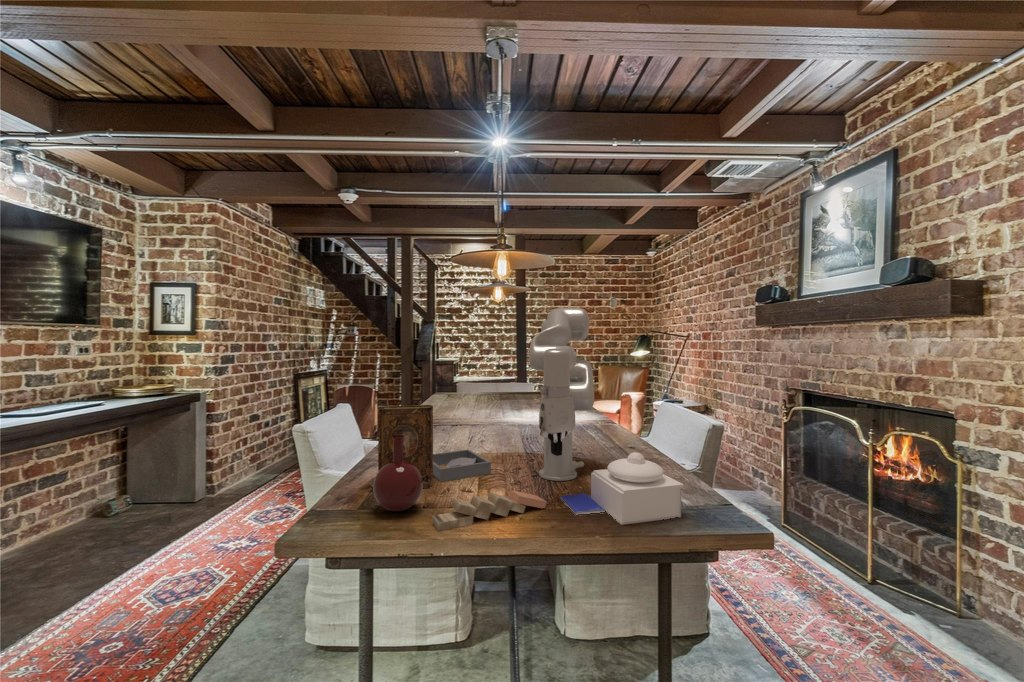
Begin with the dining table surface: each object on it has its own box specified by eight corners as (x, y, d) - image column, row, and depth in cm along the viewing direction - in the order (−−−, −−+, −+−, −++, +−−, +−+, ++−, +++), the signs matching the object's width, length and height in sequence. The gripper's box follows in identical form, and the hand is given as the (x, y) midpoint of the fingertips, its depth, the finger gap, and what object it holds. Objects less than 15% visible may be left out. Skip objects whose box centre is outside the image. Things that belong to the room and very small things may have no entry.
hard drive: (604, 509, 124) (587, 493, 136) (575, 511, 122) (560, 495, 134) (604, 515, 124) (587, 498, 136) (575, 517, 122) (560, 500, 134)
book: (432, 482, 148) (432, 404, 148) (433, 488, 143) (433, 407, 142) (379, 485, 145) (379, 406, 144) (378, 491, 140) (377, 409, 139)
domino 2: (483, 505, 124) (453, 497, 120) (490, 512, 119) (459, 504, 116) (481, 513, 123) (450, 505, 120) (488, 519, 119) (457, 512, 115)
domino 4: (517, 500, 128) (490, 491, 124) (525, 506, 124) (498, 497, 120) (514, 507, 128) (487, 499, 124) (523, 513, 123) (495, 505, 119)
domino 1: (465, 509, 121) (432, 515, 117) (473, 516, 117) (438, 522, 112) (465, 517, 121) (432, 523, 117) (473, 524, 117) (438, 531, 112)
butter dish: (590, 500, 133) (591, 445, 133) (646, 494, 138) (646, 441, 137) (621, 525, 116) (621, 462, 116) (683, 518, 121) (683, 457, 121)
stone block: (445, 482, 155) (475, 476, 155) (442, 467, 155) (472, 462, 155) (451, 472, 167) (478, 467, 167) (448, 459, 167) (475, 453, 167)
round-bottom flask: (363, 510, 125) (363, 436, 125) (404, 497, 135) (404, 429, 135) (391, 523, 116) (391, 444, 116) (432, 508, 126) (432, 436, 126)
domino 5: (537, 495, 131) (510, 490, 127) (546, 501, 127) (519, 495, 123) (535, 502, 131) (508, 497, 127) (544, 508, 127) (517, 503, 123)
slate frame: (468, 459, 174) (468, 449, 174) (490, 473, 157) (490, 462, 157) (422, 466, 166) (422, 455, 165) (440, 481, 149) (440, 469, 149)
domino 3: (501, 503, 126) (473, 494, 122) (509, 509, 121) (480, 501, 117) (498, 510, 125) (470, 502, 122) (506, 517, 121) (477, 508, 117)
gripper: (541, 396, 125) (541, 462, 127) (585, 391, 133) (585, 453, 134) (527, 392, 132) (527, 454, 134) (570, 387, 139) (569, 446, 141)
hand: (556, 454), depth 134 cm, fingers closed
